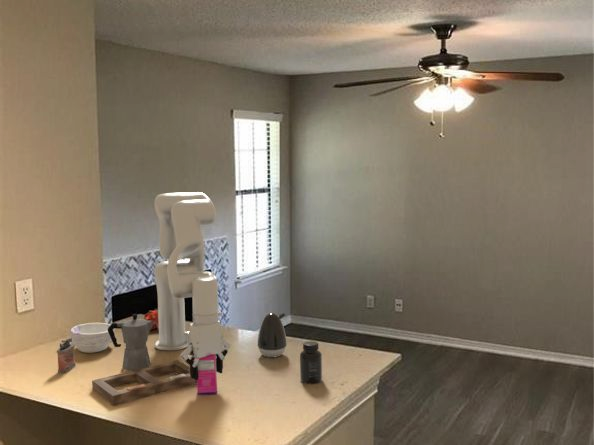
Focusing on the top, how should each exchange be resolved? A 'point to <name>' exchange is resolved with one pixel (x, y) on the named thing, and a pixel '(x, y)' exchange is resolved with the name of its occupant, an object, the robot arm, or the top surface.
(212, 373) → the supplement box
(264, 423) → the top surface
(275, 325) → the dark grey tapered dome
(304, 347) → the supplement bottle
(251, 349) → the top surface
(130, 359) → the coffeepot
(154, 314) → the dragon fruit
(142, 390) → the wooden compartment tray
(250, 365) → the top surface
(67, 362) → the lighter
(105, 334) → the paper bowls
